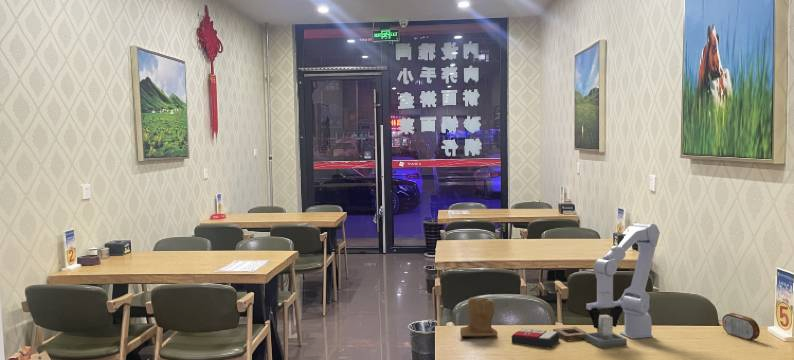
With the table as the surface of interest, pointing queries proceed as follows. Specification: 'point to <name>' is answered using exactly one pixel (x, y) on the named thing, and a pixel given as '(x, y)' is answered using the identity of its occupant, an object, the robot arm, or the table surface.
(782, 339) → the table surface
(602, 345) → the tray
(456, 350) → the table surface
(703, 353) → the table surface
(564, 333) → the brown square frame
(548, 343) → the red black box
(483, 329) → the brown wooden stand
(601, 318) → the lock pin
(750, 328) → the oval speaker
